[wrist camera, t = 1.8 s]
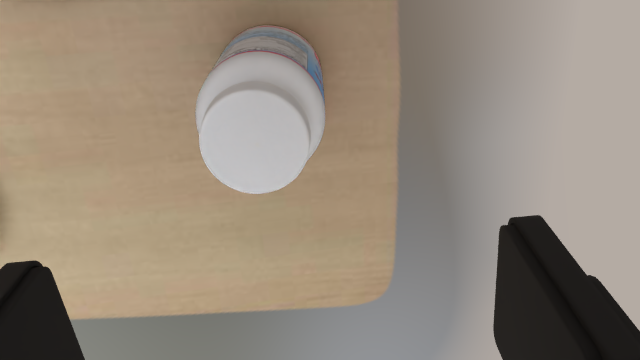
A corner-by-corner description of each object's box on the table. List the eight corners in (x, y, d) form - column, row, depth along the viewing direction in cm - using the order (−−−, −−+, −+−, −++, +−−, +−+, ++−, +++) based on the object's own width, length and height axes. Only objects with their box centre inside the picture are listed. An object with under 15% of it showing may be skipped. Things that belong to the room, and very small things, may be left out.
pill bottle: (304, 133, 34) (302, 226, 24) (209, 104, 33) (165, 187, 23) (336, 41, 32) (349, 101, 21) (235, 6, 31) (198, 52, 20)
